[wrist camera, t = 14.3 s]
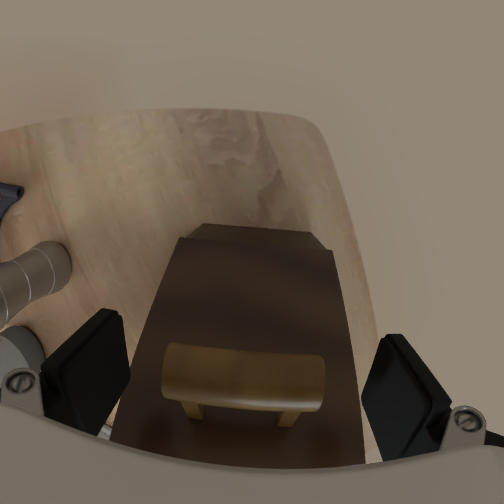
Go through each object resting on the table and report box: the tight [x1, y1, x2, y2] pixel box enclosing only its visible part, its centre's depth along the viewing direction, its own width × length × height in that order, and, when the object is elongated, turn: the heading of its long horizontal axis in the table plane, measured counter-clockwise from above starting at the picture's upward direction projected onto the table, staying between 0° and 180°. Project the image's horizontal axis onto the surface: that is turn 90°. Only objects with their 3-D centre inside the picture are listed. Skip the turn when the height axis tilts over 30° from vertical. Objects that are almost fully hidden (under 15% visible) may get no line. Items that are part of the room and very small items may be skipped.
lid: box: [109, 237, 366, 469], centre depth 14 cm, size 15×12×6 cm
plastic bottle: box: [0, 241, 71, 330], centre depth 23 cm, size 6×7×20 cm
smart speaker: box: [0, 326, 44, 388], centre depth 30 cm, size 10×9×14 cm
